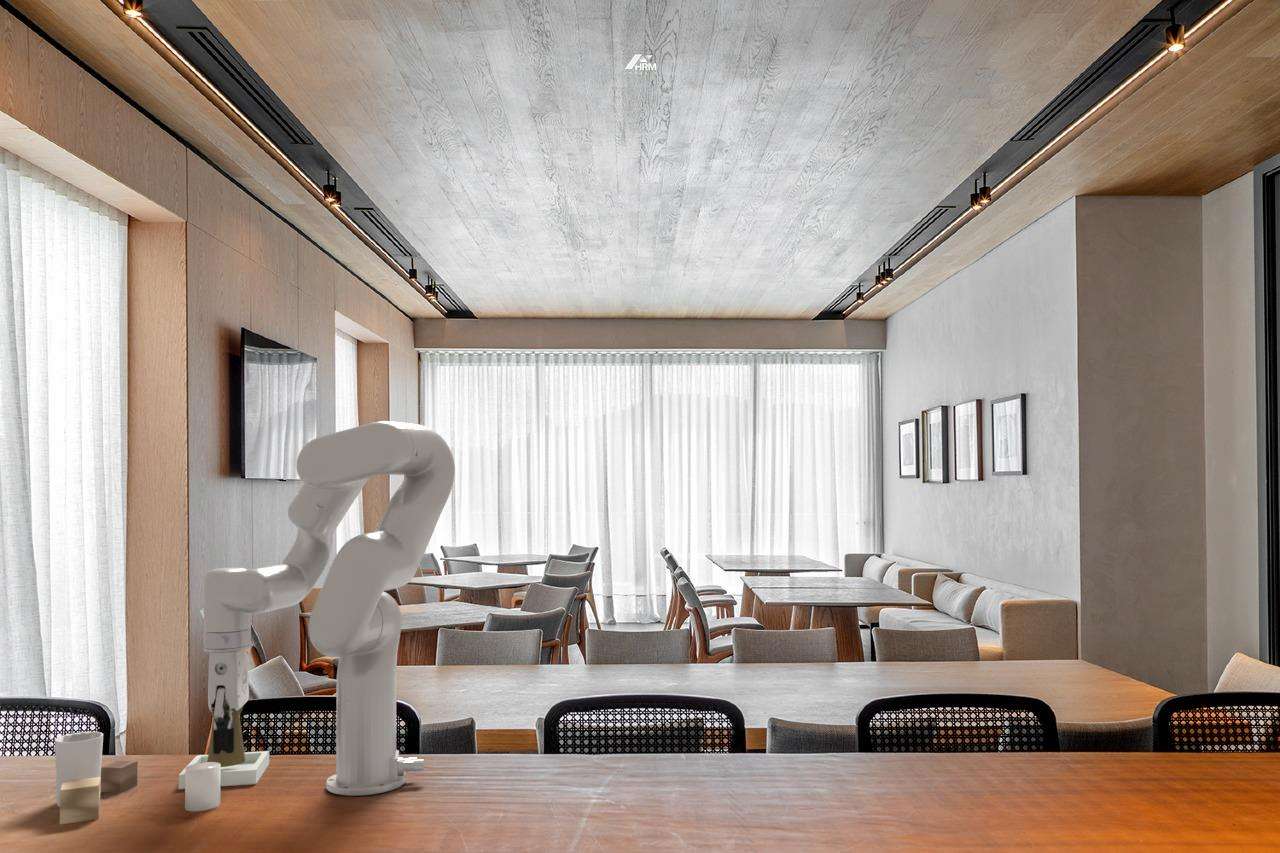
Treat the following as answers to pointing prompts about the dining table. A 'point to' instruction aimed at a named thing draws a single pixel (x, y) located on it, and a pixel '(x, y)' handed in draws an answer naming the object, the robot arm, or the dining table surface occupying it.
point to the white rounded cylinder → (202, 786)
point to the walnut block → (118, 776)
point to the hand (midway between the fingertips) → (226, 748)
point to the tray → (236, 769)
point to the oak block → (80, 800)
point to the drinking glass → (77, 757)
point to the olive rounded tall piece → (238, 752)
